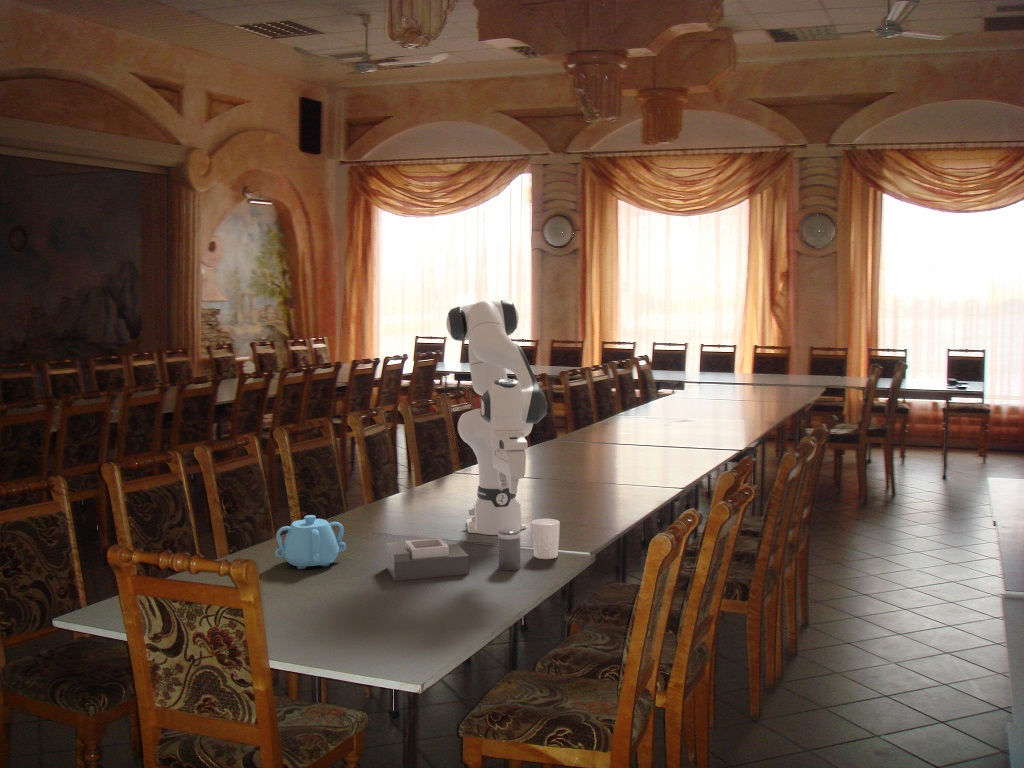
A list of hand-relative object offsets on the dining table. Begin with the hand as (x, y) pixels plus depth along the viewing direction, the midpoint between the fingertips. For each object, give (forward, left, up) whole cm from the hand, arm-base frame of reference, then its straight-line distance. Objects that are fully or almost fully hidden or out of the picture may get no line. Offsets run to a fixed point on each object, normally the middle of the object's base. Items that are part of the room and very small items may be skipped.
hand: (508, 490), depth 275 cm
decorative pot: (-22, -51, -22) cm, 60 cm away
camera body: (-4, -22, -21) cm, 31 cm away
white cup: (-8, +13, -22) cm, 27 cm away
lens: (0, 0, -22) cm, 22 cm away
